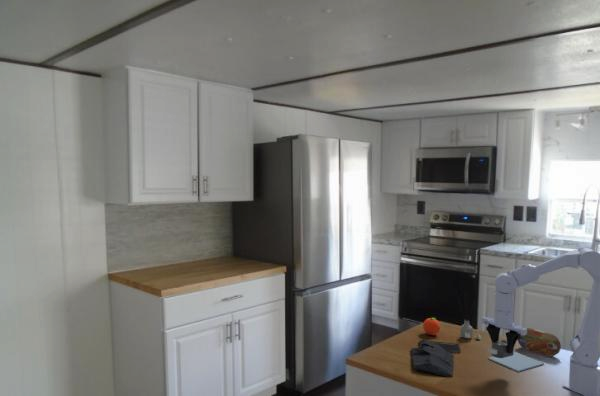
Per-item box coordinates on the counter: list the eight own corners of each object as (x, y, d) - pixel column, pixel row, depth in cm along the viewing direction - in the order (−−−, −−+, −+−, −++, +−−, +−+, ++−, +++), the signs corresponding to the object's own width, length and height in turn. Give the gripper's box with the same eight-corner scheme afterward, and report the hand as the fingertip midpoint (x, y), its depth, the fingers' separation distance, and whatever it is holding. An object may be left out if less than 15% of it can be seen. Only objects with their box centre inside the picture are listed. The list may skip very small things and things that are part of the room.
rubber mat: (543, 364, 152) (543, 363, 152) (518, 372, 146) (518, 370, 145) (513, 352, 163) (513, 351, 163) (488, 358, 156) (488, 357, 156)
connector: (516, 354, 143) (516, 342, 143) (496, 359, 139) (496, 347, 138) (505, 350, 147) (505, 338, 146) (485, 355, 142) (486, 343, 142)
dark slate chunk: (406, 372, 145) (406, 358, 145) (411, 349, 166) (412, 336, 165) (454, 380, 140) (454, 365, 140) (453, 354, 161) (454, 342, 160)
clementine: (428, 330, 186) (429, 313, 186) (443, 334, 181) (444, 317, 181) (419, 334, 180) (420, 317, 180) (435, 338, 176) (435, 321, 175)
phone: (419, 339, 172) (458, 344, 168) (419, 342, 172) (458, 346, 168) (419, 346, 165) (460, 351, 161) (419, 349, 165) (460, 354, 161)
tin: (516, 347, 168) (517, 325, 168) (520, 345, 170) (521, 324, 170) (557, 360, 156) (558, 337, 156) (561, 358, 158) (562, 335, 158)
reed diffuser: (456, 339, 175) (457, 291, 175) (452, 333, 182) (454, 287, 181) (482, 341, 174) (484, 292, 173) (478, 335, 181) (479, 288, 180)
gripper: (532, 313, 139) (530, 354, 139) (490, 302, 151) (489, 341, 151) (521, 317, 135) (519, 359, 135) (478, 306, 147) (477, 345, 147)
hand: (502, 350), depth 143 cm, fingers closed on connector, 4 cm apart
